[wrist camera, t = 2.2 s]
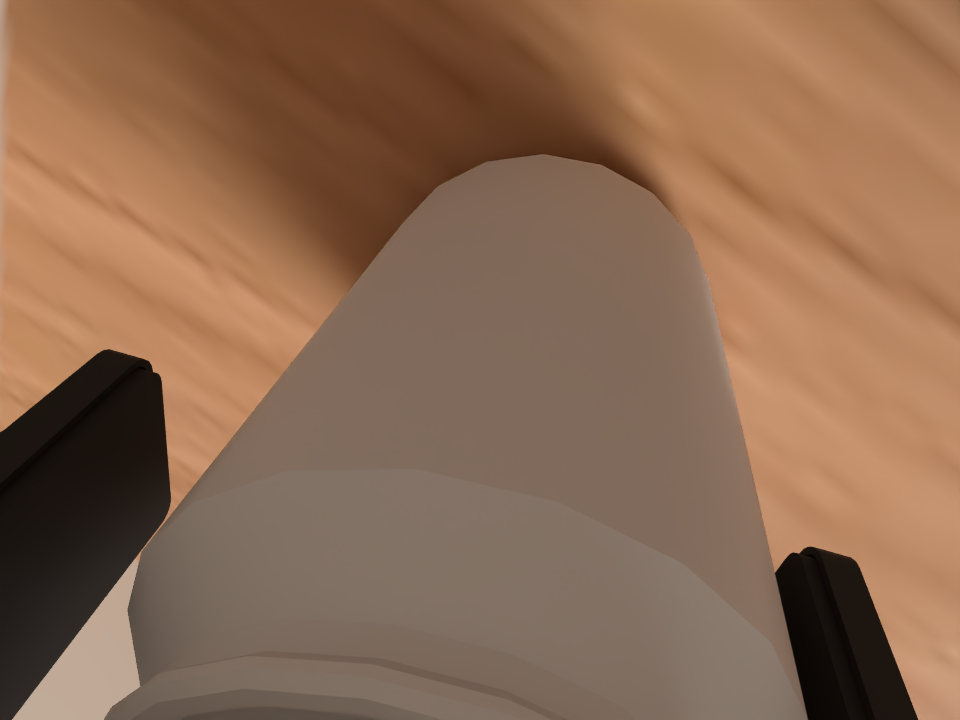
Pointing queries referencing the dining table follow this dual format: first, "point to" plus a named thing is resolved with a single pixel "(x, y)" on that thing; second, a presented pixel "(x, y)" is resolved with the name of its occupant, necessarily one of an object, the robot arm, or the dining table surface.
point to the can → (483, 489)
